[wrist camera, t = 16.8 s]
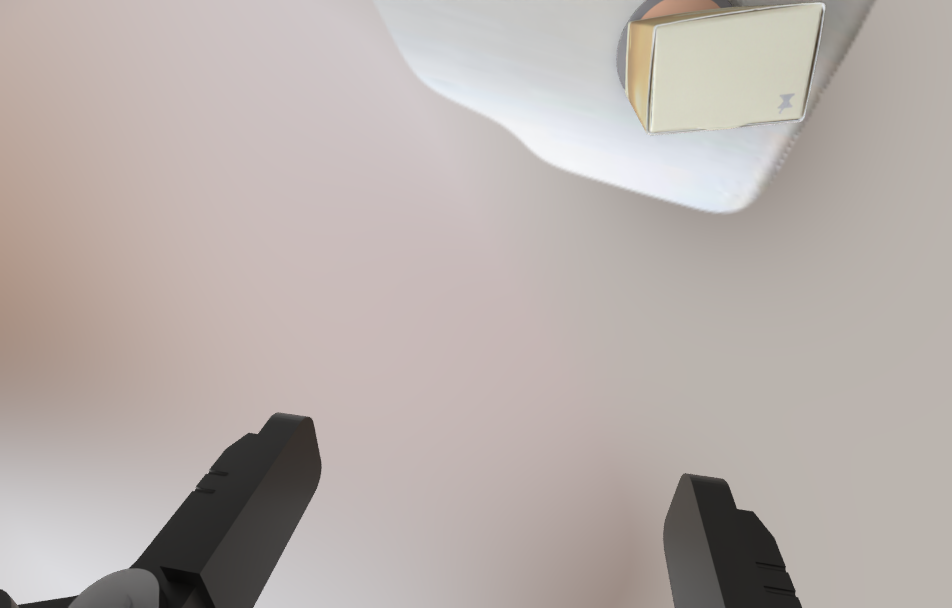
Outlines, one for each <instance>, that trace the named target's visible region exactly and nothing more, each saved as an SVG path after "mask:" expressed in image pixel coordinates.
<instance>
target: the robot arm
mask: <svg viewBox="0 0 952 608" xmlns="http://www.w3.org/2000/svg"><path fill="white" fill-rule="evenodd" d="M320 475H321V459H320V454H319V448H318V443H317V439H316V434H315V428H314V424H313V420H312V419H311V418H310V417H306V416H299V415H292V414H285V413H275V414H274V415H272V416H271V418H270V419H269V420H268V421H267V423H266V424H265V425H264V427H263V428H262V429H261V431H260V432H259V433H258V434H253V433H248V434H246V435H245V436H243V437H242V438H241V439H239V440H238V441H236V442H235V443H234V444H232V445H231V446H229V447H228V448H227V449H226V450H225V451H224V452H223V453H222V455H221V456H220V457H219V458H218V460H217V461H216V462H215V463H214V465H213V466H212V467H211V469H210V471H209V473H208V474H206V475H205V476H204V477H203V478H202V480H201V481H200V482H199V483H198V485H197V486H196V489H195V491H192V492H191V493H190V495H189V496H188V497H187V499H186V500H185V501H184V502H183V503H182V505H181V506H180V507H179V509H178V510H177V511H176V512H175V514H174V515H173V516H172V517H171V519H170V520H169V521H168V522H167V524H166V525H165V526H164V527H163V529H162V530H161V531H160V533H159V534H158V535H157V536H156V537H155V539H154V540H153V541H152V542H151V544H150V545H149V546H148V547H147V549H146V550H145V551H144V553H143V554H142V555H141V556H140V557H139V559H138V560H137V561H136V562H135V563H134V564H133V565H132V566H131V567H130V568H129V569H125V570H121V571H117V572H114V573H112V574H109V575H107V576H105V577H103V578H101V579H100V580H98V581H96V582H95V583H93V584H92V585H91V586H89V587H88V588H87V589H85V590H84V591H83V592H82V593H81V594H80V595H77V596H73V597H67V598H60V599H54V600H48V601H41V602H35V603H28V604H21V605H17V604H16V603H15V602H14V601H13V599H12V598H11V597H10V596H9V595H8V594H7V593H6V592H5V591H3V590H1V589H0V608H253V607H254V605H255V603H256V601H257V599H258V597H259V596H260V594H261V592H262V590H263V588H264V586H265V584H266V583H267V580H268V579H269V577H270V575H271V573H272V571H273V569H274V568H275V566H276V564H277V562H278V560H279V558H280V556H281V555H282V552H283V551H284V549H285V547H286V545H287V543H288V541H289V540H290V538H291V536H292V534H293V532H294V530H295V528H296V526H297V525H298V523H299V521H300V519H301V517H302V515H303V513H304V511H305V510H306V508H307V506H308V504H309V502H310V500H311V498H312V497H313V495H314V493H315V491H316V489H317V486H318V483H319V480H320ZM663 535H664V536H663V537H664V538H663V540H664V551H665V556H666V562H667V568H668V573H669V579H670V584H671V590H672V595H673V601H674V606H675V608H802V606H801V604H800V601H799V599H798V597H796V596H795V589H794V586H793V584H792V581H791V579H790V576H789V574H788V573H787V572H786V570H785V567H786V566H785V564H784V561H783V559H782V556H781V554H780V551H779V549H778V546H777V544H776V541H775V539H774V537H773V536H772V534H771V533H770V532H769V531H768V530H767V528H766V527H765V526H764V525H763V523H762V522H761V521H760V520H759V518H758V517H757V516H756V515H755V513H754V512H752V511H746V510H739V509H737V508H736V505H735V502H734V499H733V496H732V494H731V490H730V488H729V485H728V484H727V482H726V481H725V480H724V479H720V478H714V477H707V476H699V475H693V474H686V473H685V474H683V475H682V476H681V478H680V481H679V484H678V486H677V489H676V492H675V494H674V497H673V500H672V502H671V505H670V508H669V510H668V513H667V516H666V519H665V523H664V533H663Z"/></svg>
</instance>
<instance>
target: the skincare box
mask: <svg viewBox="0 0 952 608" xmlns="http://www.w3.org/2000/svg"><path fill="white" fill-rule="evenodd" d="M825 9H826V4H825V3H824V2H809V3H795V4H785V5H766V6H745V7H728V8H718V9H708V10H700V11H692V12H684V13H676V14H670V15H664V16H659V17H653V18H647V19H641V20H636V21H630V22H629V23H628V33H627V51H626V79H625V93H626V96H627V98H628V99H629V101H630V103H631V105H632V107H633V109H634V111H635V112H636V114H637V116H638V118H639V120H640V122H641V123H642V125H643V127H644V129H645V131H646V133H647V134H649V135H663V134H676V133H687V132H698V131H711V130H722V129H732V128H742V127H752V126H763V125H774V124H783V123H794V122H801V121H803V120H804V118H805V113H806V108H807V103H808V99H809V95H810V89H811V85H812V81H813V76H814V71H815V66H816V62H817V57H818V52H819V46H820V41H821V35H822V30H823V21H824V15H825Z"/></svg>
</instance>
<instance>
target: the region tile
mask: <svg viewBox="0 0 952 608" xmlns="http://www.w3.org/2000/svg"><path fill="white" fill-rule="evenodd" d="M728 7H732V5H731V4H730V3H729V1H728V0H646V1H645V2H644V3H643V4H642V5H641V6H640V7H639V8H638V9H637V10H636V11H635V12H634V13H633V15H632V16H631V17H630V19H629V21H628V22H627V24H626V26H625V28H624V30H623V32H622V35H621V37H620V40H619V44H618V49H617V71H618V76H619V79H620V82H621V84H622V86H623V88H624V90H625V79H626V51H627V33H628V23H629V22H630V21H636V20H641V19H647V18H653V17H659V16H664V15H670V14H676V13H684V12H692V11H700V10H708V9H718V8H728Z"/></svg>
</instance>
